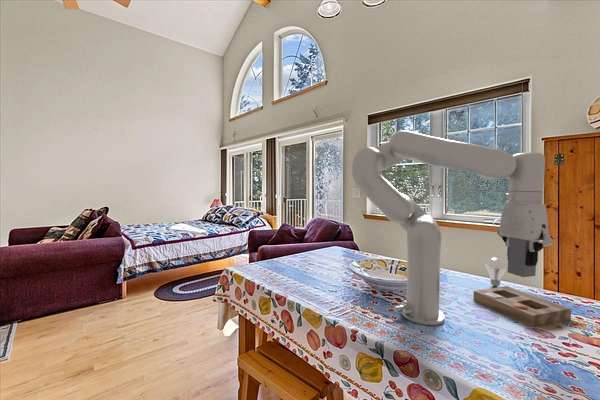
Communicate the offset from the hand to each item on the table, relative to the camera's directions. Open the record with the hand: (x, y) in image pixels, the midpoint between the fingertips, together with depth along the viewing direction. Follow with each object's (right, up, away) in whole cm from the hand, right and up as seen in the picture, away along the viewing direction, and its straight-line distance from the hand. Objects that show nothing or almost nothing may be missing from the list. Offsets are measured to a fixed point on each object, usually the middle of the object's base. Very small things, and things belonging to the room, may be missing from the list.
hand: (521, 262), depth 78 cm
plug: (0, -3, 0) cm, 3 cm away
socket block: (+11, -19, +15) cm, 27 cm away
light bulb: (+18, -18, +36) cm, 44 cm away
